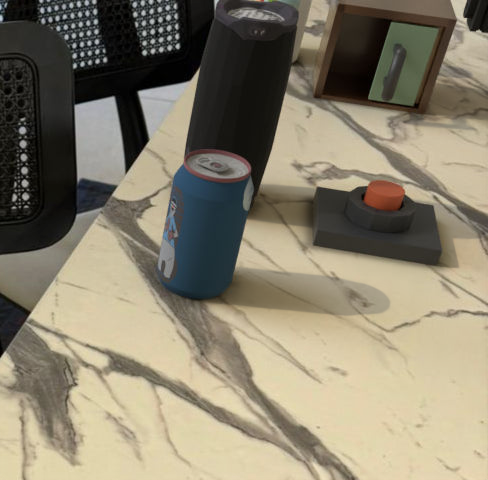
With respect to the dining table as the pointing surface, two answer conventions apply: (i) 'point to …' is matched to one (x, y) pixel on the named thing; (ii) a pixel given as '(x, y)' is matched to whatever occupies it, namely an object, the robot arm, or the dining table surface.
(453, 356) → the dining table surface
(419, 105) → the cabinet
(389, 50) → the sliding door
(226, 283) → the soda can
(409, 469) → the dining table surface
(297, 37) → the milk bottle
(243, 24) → the portable speaker
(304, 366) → the dining table surface
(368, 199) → the button
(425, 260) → the control block
